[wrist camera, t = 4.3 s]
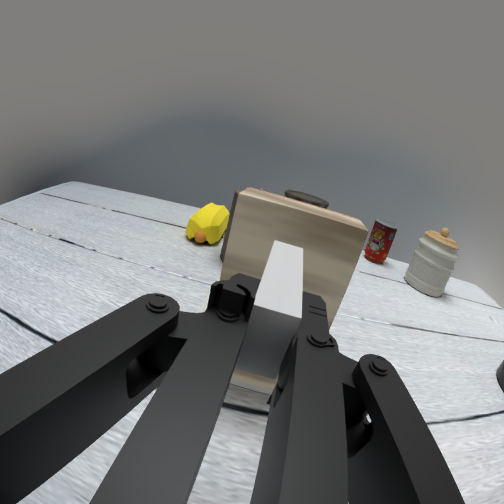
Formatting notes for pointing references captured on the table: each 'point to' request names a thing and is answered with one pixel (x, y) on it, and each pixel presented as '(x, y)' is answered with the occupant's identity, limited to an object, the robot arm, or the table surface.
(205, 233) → the hot dog
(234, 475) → the table surface
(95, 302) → the table surface
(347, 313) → the table surface
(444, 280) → the jar
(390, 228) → the soda can
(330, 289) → the birch board
